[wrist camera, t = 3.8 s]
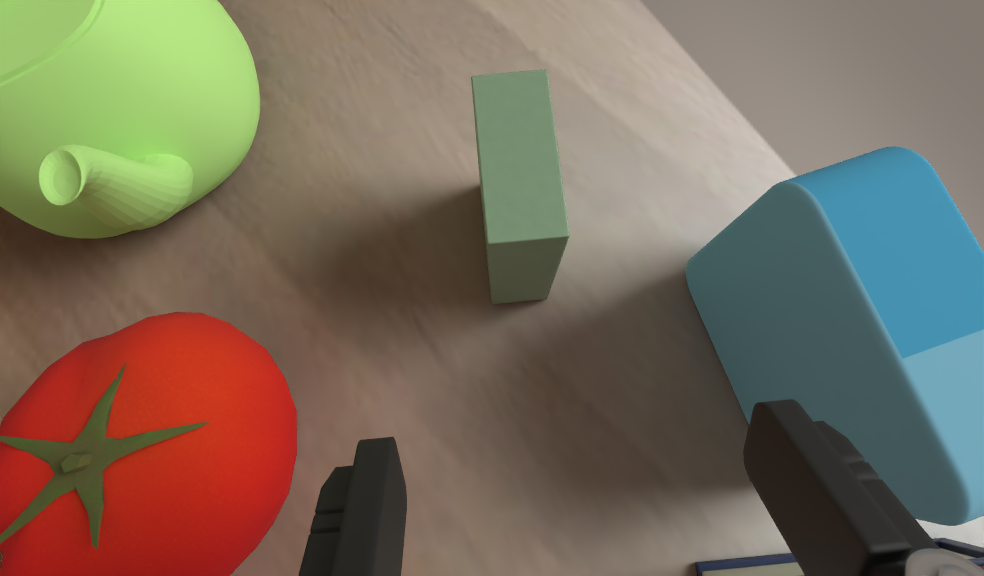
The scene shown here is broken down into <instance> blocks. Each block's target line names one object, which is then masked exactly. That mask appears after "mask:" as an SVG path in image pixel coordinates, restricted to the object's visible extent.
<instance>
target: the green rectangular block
mask: <svg viewBox="0 0 984 576" xmlns="http://www.w3.org/2000/svg"><path fill="white" fill-rule="evenodd" d="M471 80H472V92H473V104H474V116H475V128H476V140H477V152H478V164H479V176H480V188H481V199H482V209H483V220H484V230H485V240H486V251H487V261H488V272H489V282H490V293H491V303H492V304H500V303H510V302H521V301H532V300H542V299H547V297H548V294H549V291H550V288H551V286H552V283H553V280H554V277H555V275H556V272H557V269H558V266H559V264H560V261H561V258H562V255H563V253H564V250H565V247H566V244H567V241H568V239H569V236H570V234H569V227H568V219H567V212H566V205H565V197H564V190H563V183H562V175H561V168H560V161H559V153H558V146H557V139H556V131H555V124H554V117H553V109H552V102H551V94H550V87H549V80H548V72H547V70H546V69H544V70H533V71H522V72H511V73H500V74H489V75H478V76H472V77H471Z"/></svg>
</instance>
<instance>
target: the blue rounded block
mask: <svg viewBox="0 0 984 576" xmlns="http://www.w3.org/2000/svg"><path fill="white" fill-rule="evenodd" d="M686 279H687V284H688V288H689V291H690V293H691V296H692V298H693V300H694V303H695V305H696V307H697V309H698V312H699V314H700V316H701V318H702V320H703V323H704V325H705V327H706V329H707V332H708V334H709V336H710V338H711V341H712V343H713V345H714V347H715V350H716V352H717V354H718V356H719V359H720V361H721V363H722V365H723V368H724V370H725V372H726V374H727V377H728V379H729V381H730V383H731V386H732V388H733V390H734V392H735V395H736V397H737V399H738V401H739V404H740V406H741V408H742V410H743V413H744V415H745V417H746V419H747V422H748V424H750V420H751V416H752V411H753V408H754V405H755V404H756V403H758V402H767V401H777V400H787V399H793V400H795V401H797V402H798V403H799V404H800V405H801V406H802V408H803V409H804V410H805V411H806V413H807V414H808V415H809V417H810V418H811V419H812V420H813V422H815V421H824V422H825V423H827V424H828V425H830V426H831V427H833V428H834V429H836V430H837V431H838V432H840V433H841V434H843V435H844V436H846V437H847V438H848V439H849V440H850V442H851V443H852V444H853V445H854V446H855V448H856V449H857V450H858V451H859V452H860V454H861V455H862V456H863V457H864V461H865V462H868V463H869V464H870V466H871V467H872V468H873V469H874V470H875V472H876V473H877V474H878V477H879V479H882V480H883V481H884V482H885V484H886V485H887V486H888V487H889V488H890V490H891V491H892V492H893V493H894V494H895V496H896V497H897V498H898V499H899V500H900V502H901V503H902V504H903V505H904V506H905V508H906V509H907V510H908V511H909V512H910V514H911V515H912V516H913V517H914V518H915V519H919V520H924V521H928V522H932V523H937V524H941V525H948V526H956V525H960V524H963V523H966V522H968V521H971V520H974V519H976V518H979V517H981V516H984V252H983V250H982V249H981V247H980V245H979V244H978V242H977V240H976V239H975V237H974V235H973V234H972V232H971V231H970V229H969V227H968V225H967V224H966V222H965V220H964V219H963V217H962V215H961V214H960V212H959V210H958V209H957V207H956V205H955V203H954V202H953V200H952V198H951V197H950V195H949V193H948V192H947V190H946V188H945V187H944V185H943V183H942V182H941V180H940V178H939V177H938V175H937V173H936V172H935V170H934V169H933V167H932V166H931V165H930V164H929V162H928V161H927V160H926V159H924V158H923V157H922V156H921V155H919V154H918V153H916V152H914V151H912V150H909V149H907V148H902V147H886V148H882V149H878V150H875V151H872V152H870V153H867V154H864V155H861V156H858V157H855V158H852V159H849V160H846V161H843V162H840V163H837V164H834V165H831V166H828V167H825V168H822V169H819V170H816V171H813V172H810V173H807V174H804V175H801V176H798V177H795V178H792V179H789V180H786V181H783V182H780V183H778V184H776V185H774V186H773V187H772V188H770V189H769V190H768V191H767V192H766V193H765V194H764V195H762V196H761V197H760V198H759V199H758V200H757V201H756V202H755V203H753V204H752V205H751V206H750V207H749V208H748V209H747V210H745V211H744V212H743V213H742V214H741V215H740V216H739V217H737V218H736V219H735V220H734V221H733V222H732V223H731V224H729V225H728V226H727V227H726V228H725V229H724V230H723V231H722V232H720V233H719V234H718V235H717V236H716V237H715V238H714V239H712V240H711V241H710V242H709V243H708V244H707V245H706V246H704V247H703V248H702V249H701V250H700V251H699V252H698V253H696V254H695V255H694V256H693V257H692V258H691V259H690V260H689V262H688V264H687V267H686Z"/></svg>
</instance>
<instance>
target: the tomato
mask: <svg viewBox="0 0 984 576" xmlns="http://www.w3.org/2000/svg"><path fill="white" fill-rule="evenodd" d="M296 456H297V415H296V408H295V405H294V402H293V399H292V397H291V394H290V391H289V388H288V385H287V383H286V380H285V378H284V376H283V374H282V373H281V371H280V370H279V368H278V367H277V365H276V363H275V362H274V360H273V359H272V357H271V356H270V354H269V352H268V351H267V349H266V348H264V347H263V346H261V345H260V344H259V343H257V342H256V341H254V340H253V339H251V338H250V337H249V336H247V335H246V334H244V333H243V332H241V331H240V330H238V329H237V328H236V327H234V326H233V325H231V324H230V323H228V322H225V321H222V320H220V319H217V318H214V317H211V316H208V315H206V314H203V313H187V312H175V313H169V314H164V315H158V316H152V317H148V318H145V319H143V320H141V321H139V322H137V323H135V324H133V325H131V326H128V327H126V328H124V329H122V330H120V331H118V332H116V333H114V334H111V335H108V336H105V337H101V338H97V339H94V340H90V341H87V342H83V343H82V344H80V345H79V346H77V347H76V348H75V349H73V350H72V351H70V352H69V353H67V354H66V355H65V356H63V357H62V358H60V359H59V360H57V361H56V362H55V363H53V364H52V365H50V366H49V367H48V368H47V369H46V370H45V371H44V372H43V373H42V374H41V375H40V376H39V377H38V379H37V380H36V381H35V382H34V383H33V384H32V385H31V387H30V388H29V389H28V390H27V391H26V392H25V394H24V395H23V396H22V397H21V398H20V399H19V400H18V402H17V403H16V404H15V405H14V406H13V407H12V409H11V410H10V411H9V412H8V413H7V414H6V416H5V417H4V418H3V421H2V423H1V426H0V551H1V553H2V554H3V559H2V563H1V567H0V576H229V575H230V574H231V573H232V572H233V571H234V570H235V569H236V568H237V567H238V566H239V565H240V564H241V563H242V562H243V561H244V560H245V559H246V558H247V557H248V556H249V555H250V554H251V553H252V552H253V551H254V550H255V549H256V547H257V546H258V544H259V543H260V542H261V540H262V539H263V537H264V536H265V534H266V533H267V532H268V530H269V529H270V527H271V526H272V524H273V523H274V521H275V519H276V517H277V515H278V513H279V511H280V509H281V507H282V505H283V503H284V501H285V499H286V497H287V495H288V493H289V490H290V485H291V480H292V475H293V470H294V465H295V460H296Z"/></svg>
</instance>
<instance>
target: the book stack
mask: <svg viewBox="0 0 984 576" xmlns="http://www.w3.org/2000/svg"><path fill="white" fill-rule="evenodd" d="M932 540H933V541H934V543H935V544H936V545H937V546H938V547H939V548H940V549H941V550H945V551H949V552H952V553H955V554H957V555H959V556H962V557H964V558H966V559H968V560H969V561H971V562H973V563H975V564H976V565H978V566H979V567H981V568H982V569H983V570H984V548H982V547H978V546H974V545H970V544H966V543H962V542H958V541H954V540H950V539H946V538H939V539H932ZM695 565H696V571H697V576H805V575H804V573H803V571H802V569H801V568H800V566H799V564H798V562H797V561H796V559H795V557H794V555H793V554H792V553H787V554H777V555H767V556H756V557H746V558H736V559H726V560H716V561H706V562H696V563H695Z"/></svg>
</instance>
